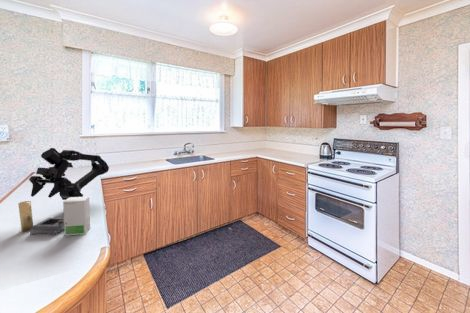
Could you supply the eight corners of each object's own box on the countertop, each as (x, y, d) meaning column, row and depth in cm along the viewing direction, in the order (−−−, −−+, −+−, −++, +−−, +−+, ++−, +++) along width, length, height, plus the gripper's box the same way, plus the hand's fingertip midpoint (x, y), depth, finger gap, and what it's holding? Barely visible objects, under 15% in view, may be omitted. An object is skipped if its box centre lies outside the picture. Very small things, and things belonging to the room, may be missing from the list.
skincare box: (64, 236, 96) (61, 201, 94) (71, 229, 102) (68, 197, 100) (86, 234, 98) (83, 200, 96) (91, 227, 104) (89, 195, 102)
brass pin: (22, 229, 101) (19, 202, 100) (34, 227, 104) (31, 200, 102) (20, 232, 98) (17, 204, 96) (32, 230, 100) (29, 203, 99)
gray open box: (30, 234, 97) (29, 224, 96) (47, 225, 105) (46, 216, 105) (58, 235, 97) (57, 225, 96) (72, 225, 106) (71, 216, 105)
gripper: (30, 160, 110) (8, 187, 101) (64, 161, 108) (45, 189, 99) (46, 172, 119) (28, 198, 110) (78, 173, 117) (62, 200, 108)
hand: (40, 196), depth 106 cm, fingers open, 9 cm apart
